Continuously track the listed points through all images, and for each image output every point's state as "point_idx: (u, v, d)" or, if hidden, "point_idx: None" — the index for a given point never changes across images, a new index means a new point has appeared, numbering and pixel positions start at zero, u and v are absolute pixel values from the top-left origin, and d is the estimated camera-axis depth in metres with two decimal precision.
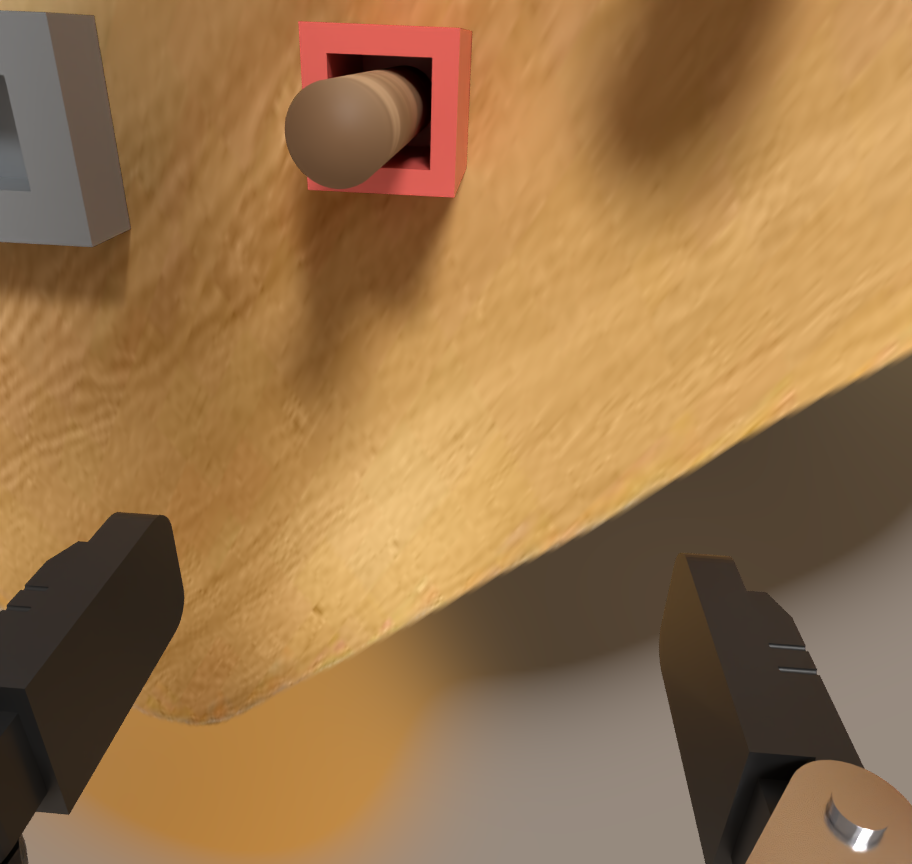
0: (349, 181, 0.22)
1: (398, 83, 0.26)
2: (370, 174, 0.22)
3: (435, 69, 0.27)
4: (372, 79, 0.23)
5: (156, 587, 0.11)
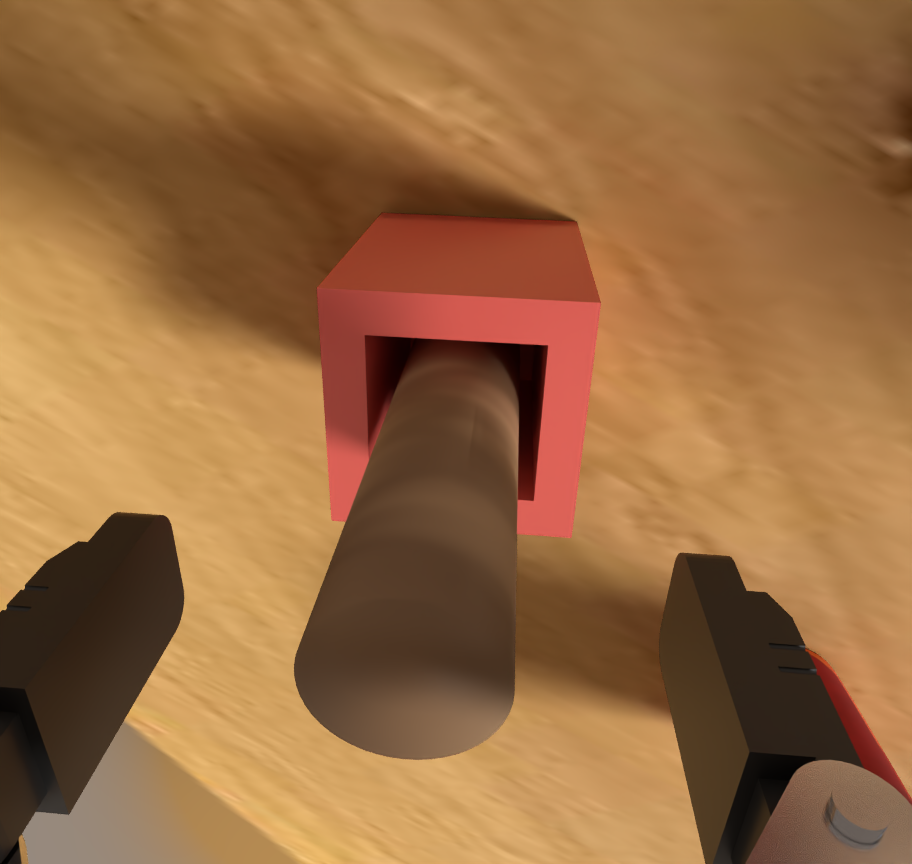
0: (313, 696, 0.10)
1: None
2: (332, 729, 0.10)
3: None
4: None
5: (156, 587, 0.11)
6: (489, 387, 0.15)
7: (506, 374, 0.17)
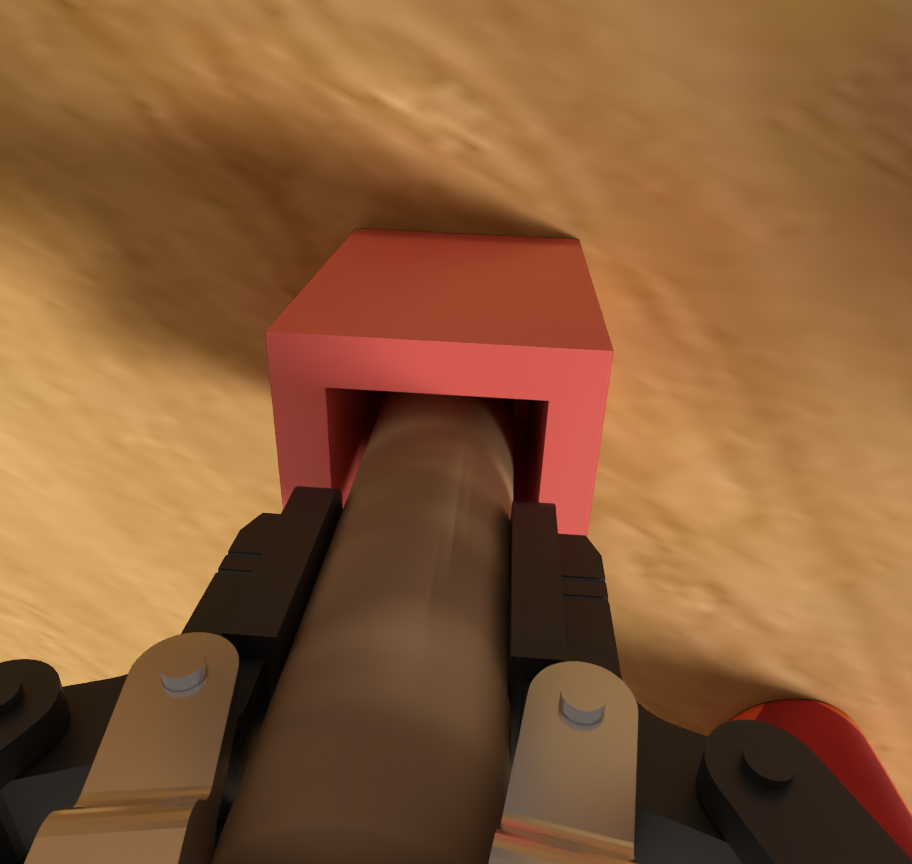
0: None
1: None
2: None
3: None
4: None
5: None
6: (477, 452, 0.13)
7: (498, 431, 0.14)
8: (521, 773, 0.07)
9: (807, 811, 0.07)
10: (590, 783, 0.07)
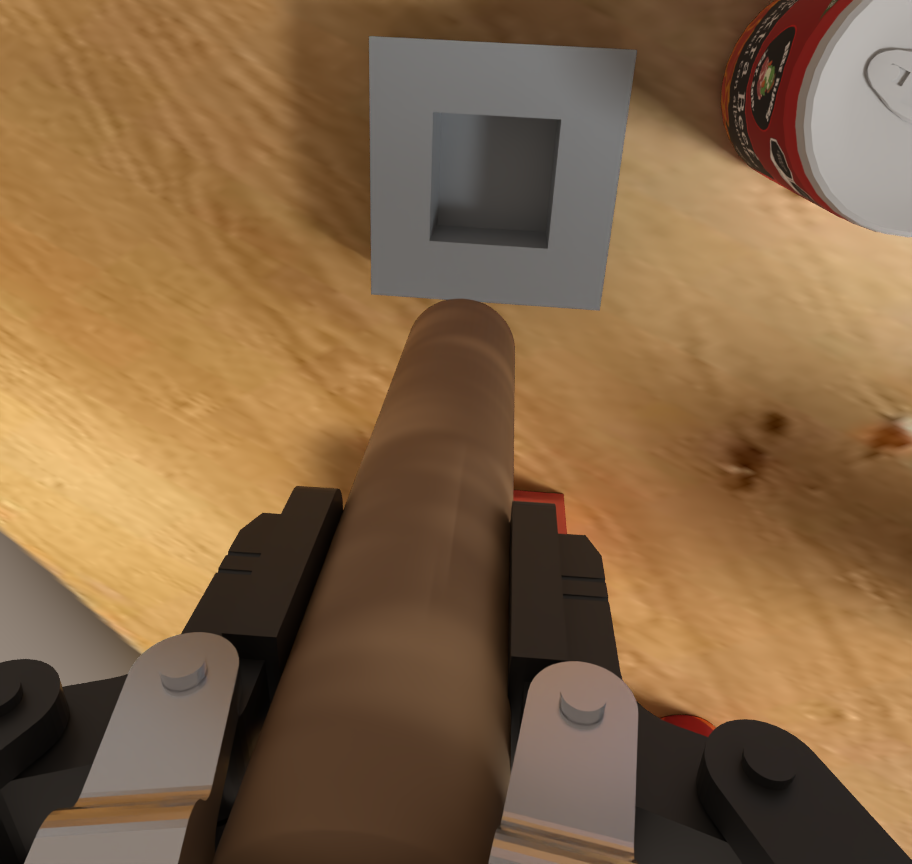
0: None
1: None
2: None
3: None
4: None
5: None
6: (477, 454, 0.13)
7: (498, 432, 0.14)
8: (521, 773, 0.07)
9: (807, 811, 0.07)
10: (590, 783, 0.07)
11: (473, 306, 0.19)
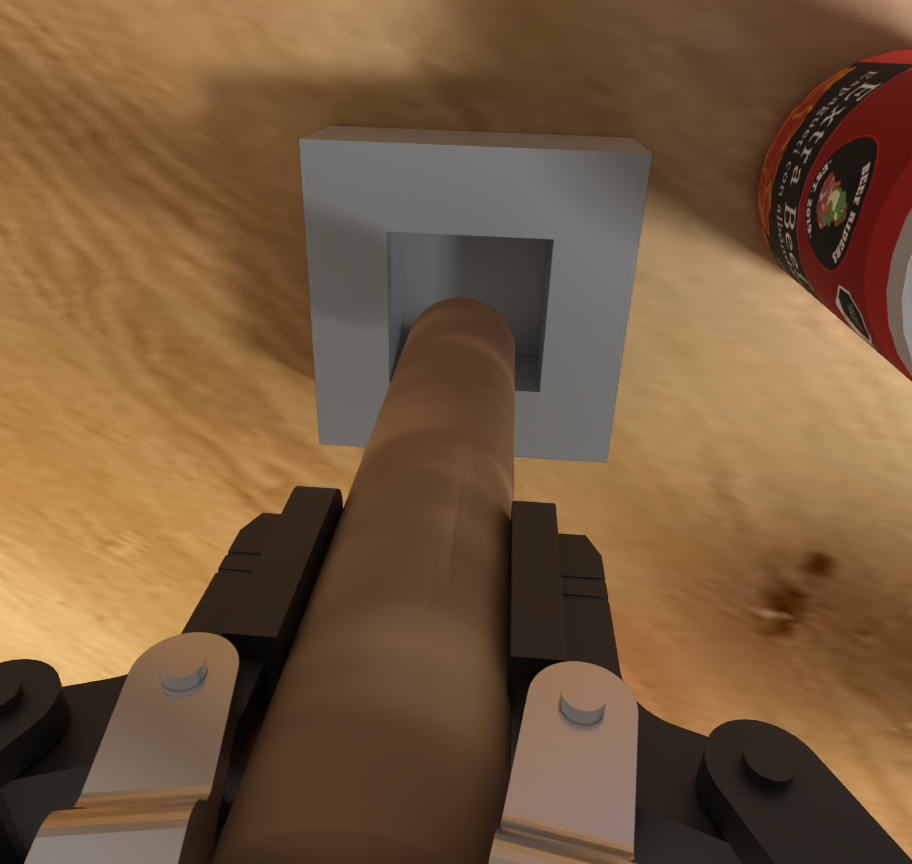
0: None
1: None
2: None
3: None
4: None
5: None
6: (477, 453, 0.13)
7: (498, 431, 0.14)
8: (521, 774, 0.07)
9: (807, 811, 0.07)
10: (590, 783, 0.07)
11: (473, 305, 0.19)
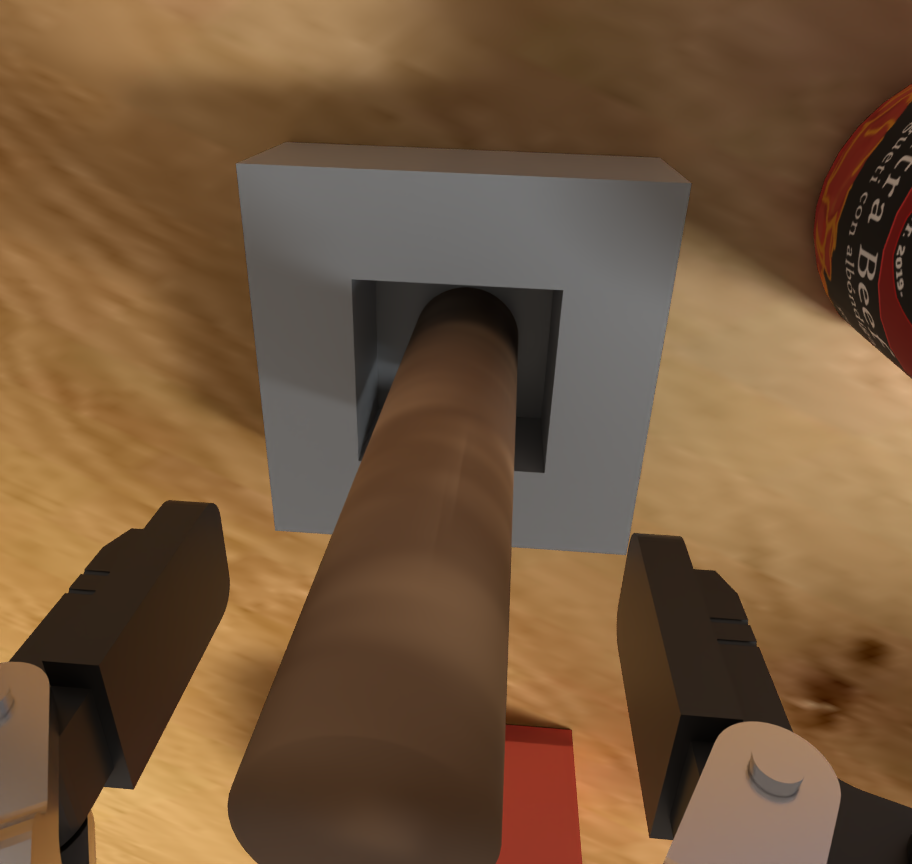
0: (252, 839, 0.08)
1: None
2: None
3: None
4: None
5: (207, 571, 0.11)
6: (480, 428, 0.13)
7: (500, 410, 0.15)
8: (730, 857, 0.06)
9: None
10: (768, 859, 0.06)
11: (478, 295, 0.20)
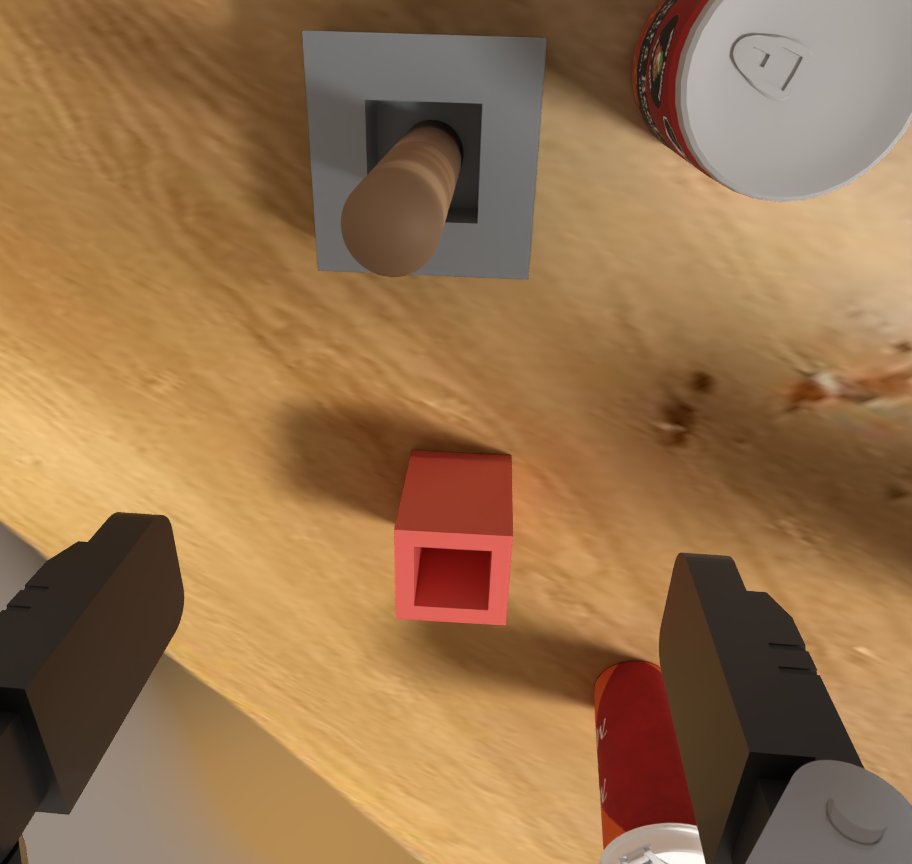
0: (349, 237, 0.22)
1: None
2: (357, 259, 0.22)
3: (480, 611, 0.39)
4: None
5: (156, 586, 0.11)
6: (436, 149, 0.27)
7: (447, 153, 0.29)
8: None
9: None
10: None
11: (438, 122, 0.34)
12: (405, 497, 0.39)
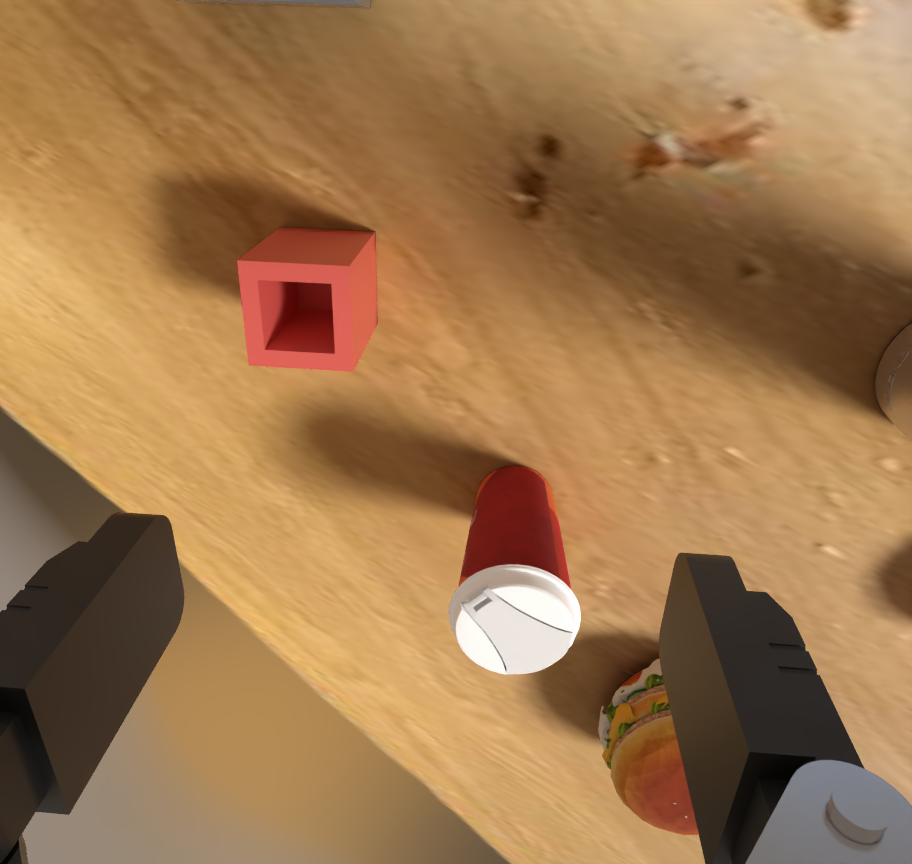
0: None
1: None
2: None
3: (328, 355, 0.41)
4: None
5: (156, 586, 0.11)
6: None
7: None
8: None
9: None
10: None
11: None
12: (258, 246, 0.41)
